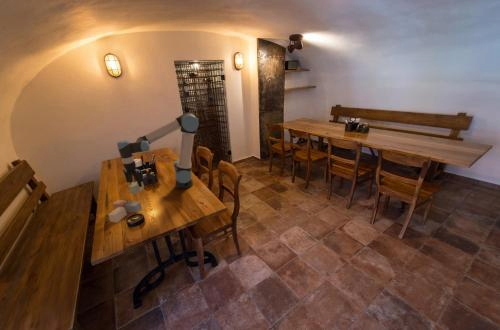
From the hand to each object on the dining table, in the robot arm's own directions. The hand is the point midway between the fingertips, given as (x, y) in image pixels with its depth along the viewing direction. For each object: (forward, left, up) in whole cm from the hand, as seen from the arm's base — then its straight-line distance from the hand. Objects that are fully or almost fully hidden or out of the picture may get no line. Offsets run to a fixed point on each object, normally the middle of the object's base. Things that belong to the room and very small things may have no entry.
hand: (137, 190), depth 157 cm
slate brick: (-4, +11, -10) cm, 16 cm away
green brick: (0, 0, 0) cm, 0 cm away
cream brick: (0, +21, -10) cm, 24 cm away
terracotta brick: (+7, +11, -10) cm, 17 cm away
